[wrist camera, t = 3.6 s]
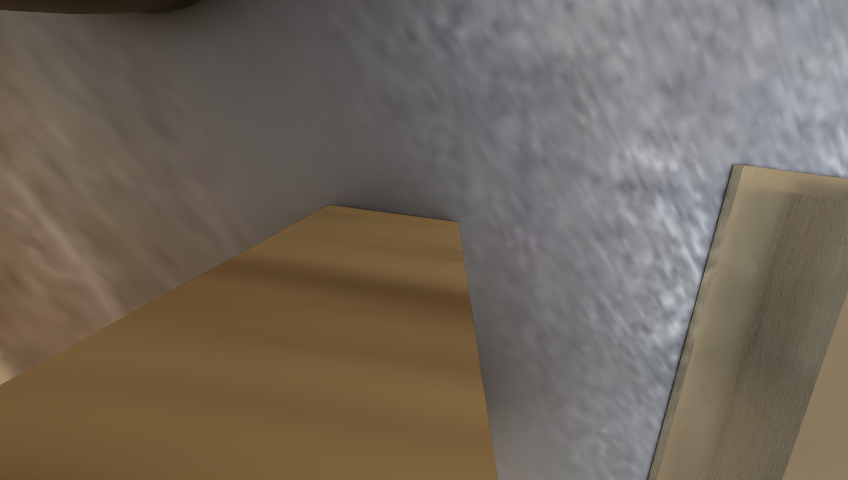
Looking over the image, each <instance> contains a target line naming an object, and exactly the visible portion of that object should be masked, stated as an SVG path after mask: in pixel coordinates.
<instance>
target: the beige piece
mask: <svg viewBox="0 0 848 480" xmlns="http://www.w3.org/2000/svg"><path fill="white" fill-rule="evenodd" d="M648 480H848V179H845V178H838V177H830V176H822V175H815V174H807V173H799V172H791V171H784V170H776V169H768V168H761V167H753V166H745V165H733V169H732V173H731V176H730V180H729V184H728V187H727V191H726V195H725V199H724V202H723V206H722V210H721V213H720V217H719V221H718V224H717V228H716V232H715V235H714V239H713V243H712V246H711V250H710V254H709V257H708V261H707V265H706V268H705V272H704V276H703V279H702V283H701V287H700V290H699V294H698V298H697V301H696V305H695V309H694V312H693V316H692V320H691V324H690V327H689V331H688V335H687V338H686V342H685V346H684V349H683V353H682V357H681V360H680V364H679V368H678V371H677V375H676V379H675V382H674V386H673V390H672V393H671V397H670V401H669V404H668V408H667V412H666V415H665V419H664V423H663V426H662V430H661V434H660V438H659V441H658V445H657V449H656V452H655V456H654V460H653V463H652V467H651V471H650V474H649V478H648Z"/></svg>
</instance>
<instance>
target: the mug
mask: <svg viewBox="0 0 848 480" xmlns="http://www.w3.org/2000/svg"><path fill="white" fill-rule="evenodd" d="M198 1H200V0H0V10H10V11H28V12H47V13H67V14H94V13H120V12H145V13H163V12H168V11H174V10H179V9H183V8H185V7H187V6H189V5H191V4H193V3H195V2H198Z"/></svg>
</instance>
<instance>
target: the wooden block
mask: <svg viewBox="0 0 848 480" xmlns="http://www.w3.org/2000/svg"><path fill="white" fill-rule="evenodd" d="M0 480H498V478H497V472H496V465H495V459H494V452H493V446H492V439H491V433H490V426H489V420H488V413H487V407H486V400H485V394H484V387H483V381H482V374H481V368H480V361H479V355H478V348H477V342H476V335H475V329H474V322H473V316H472V309H471V303H470V296H469V290H468V283H467V277H466V270H465V264H464V257H463V251H462V244H461V238H460V231H459V225H458V222H453V221H446V220H438V219H431V218H423V217H416V216H408V215H401V214H393V213H386V212H378V211H371V210H363V209H356V208H348V207H341V206H333V205H328V206H326V207H324V208H322V209H321V210H319V211H317V212H315V213H313V214H311V215H310V216H308V217H306V218H304V219H302V220H300V221H299V222H297V223H295V224H293V225H291V226H290V227H288V228H286V229H284V230H282V231H280V232H279V233H277V234H275V235H273V236H271V237H269V238H268V239H266V240H264V241H262V242H260V243H259V244H257V245H255V246H253V247H251V248H249V249H248V250H246V251H244V252H242V253H240V254H238V255H237V256H235V257H233V258H231V259H229V260H228V261H226V262H224V263H222V264H220V265H218V266H217V267H215V268H213V269H211V270H209V271H207V272H206V273H204V274H202V275H200V276H198V277H196V278H195V279H193V280H191V281H189V282H187V283H186V284H184V285H182V286H180V287H178V288H176V289H175V290H173V291H171V292H169V293H167V294H165V295H164V296H162V297H160V298H158V299H156V300H155V301H153V302H151V303H149V304H147V305H145V306H144V307H142V308H140V309H138V310H136V311H134V312H133V313H131V314H129V315H127V316H125V317H124V318H122V319H120V320H118V321H116V322H114V323H113V324H111V325H109V326H107V327H105V328H103V329H102V330H100V331H98V332H96V333H94V334H93V335H91V336H89V337H87V338H85V339H83V340H82V341H80V342H78V343H76V344H74V345H72V346H71V347H69V348H67V349H65V350H63V351H62V352H60V353H58V354H56V355H54V356H52V357H51V358H49V359H47V360H45V361H43V362H41V363H40V364H38V365H36V366H34V367H32V368H31V369H29V370H27V371H25V372H23V373H21V374H20V375H18V376H16V377H14V378H12V379H10V380H9V381H7V382H5V383H3V384H1V385H0Z"/></svg>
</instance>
